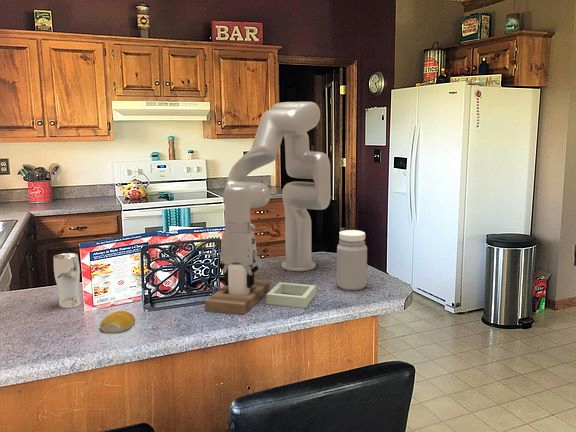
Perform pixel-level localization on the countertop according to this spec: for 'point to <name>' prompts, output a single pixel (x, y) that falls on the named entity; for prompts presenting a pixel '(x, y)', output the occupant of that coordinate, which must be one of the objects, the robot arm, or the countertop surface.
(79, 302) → the beer glass
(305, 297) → the sage holder
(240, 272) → the can
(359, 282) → the jar
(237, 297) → the walnut holder
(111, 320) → the bread roll
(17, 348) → the countertop surface
